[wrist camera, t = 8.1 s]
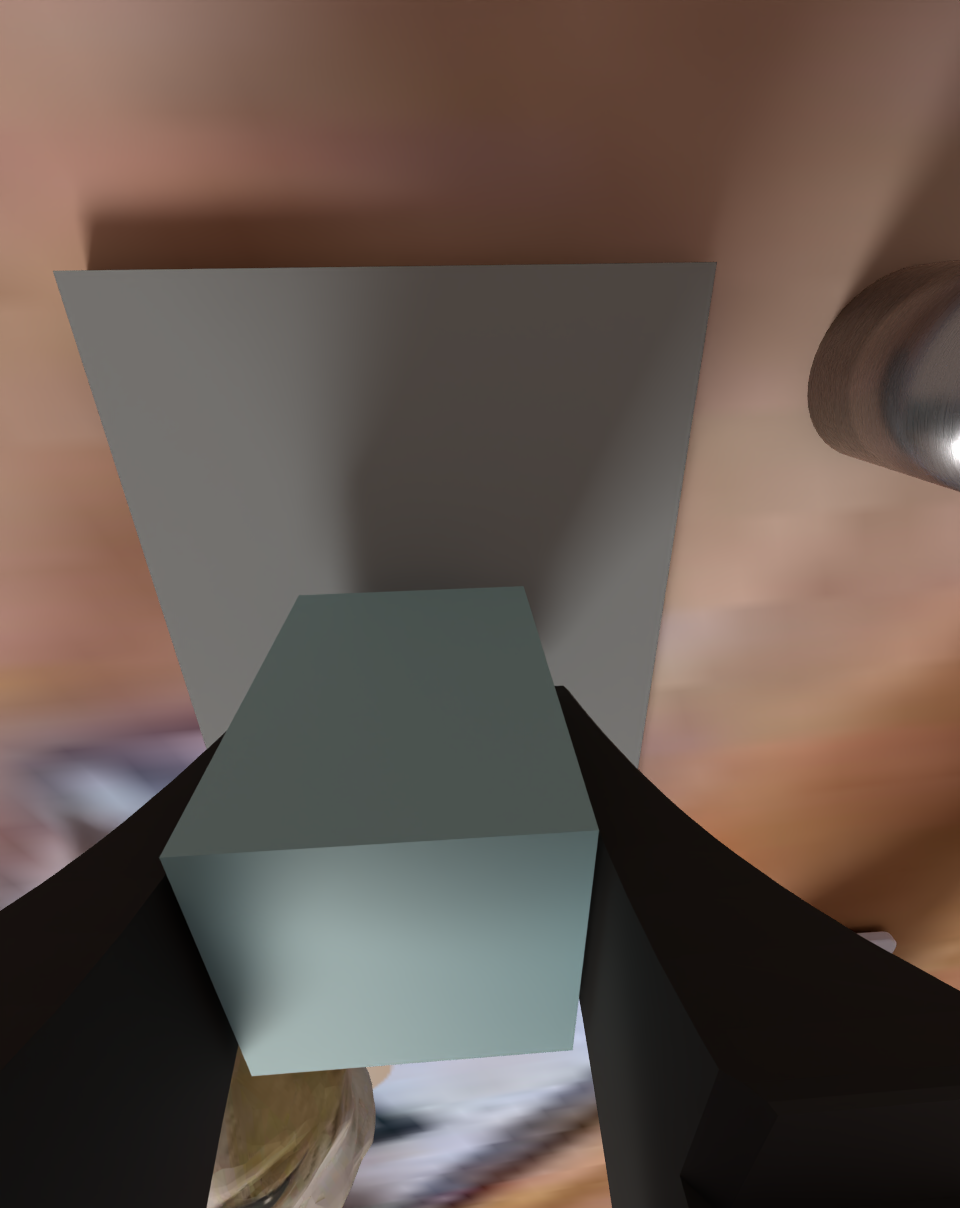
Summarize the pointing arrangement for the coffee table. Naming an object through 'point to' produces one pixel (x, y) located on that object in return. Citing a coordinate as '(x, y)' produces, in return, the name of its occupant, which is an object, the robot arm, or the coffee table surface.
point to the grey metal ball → (895, 375)
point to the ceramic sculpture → (292, 1138)
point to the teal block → (393, 839)
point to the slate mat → (402, 450)
